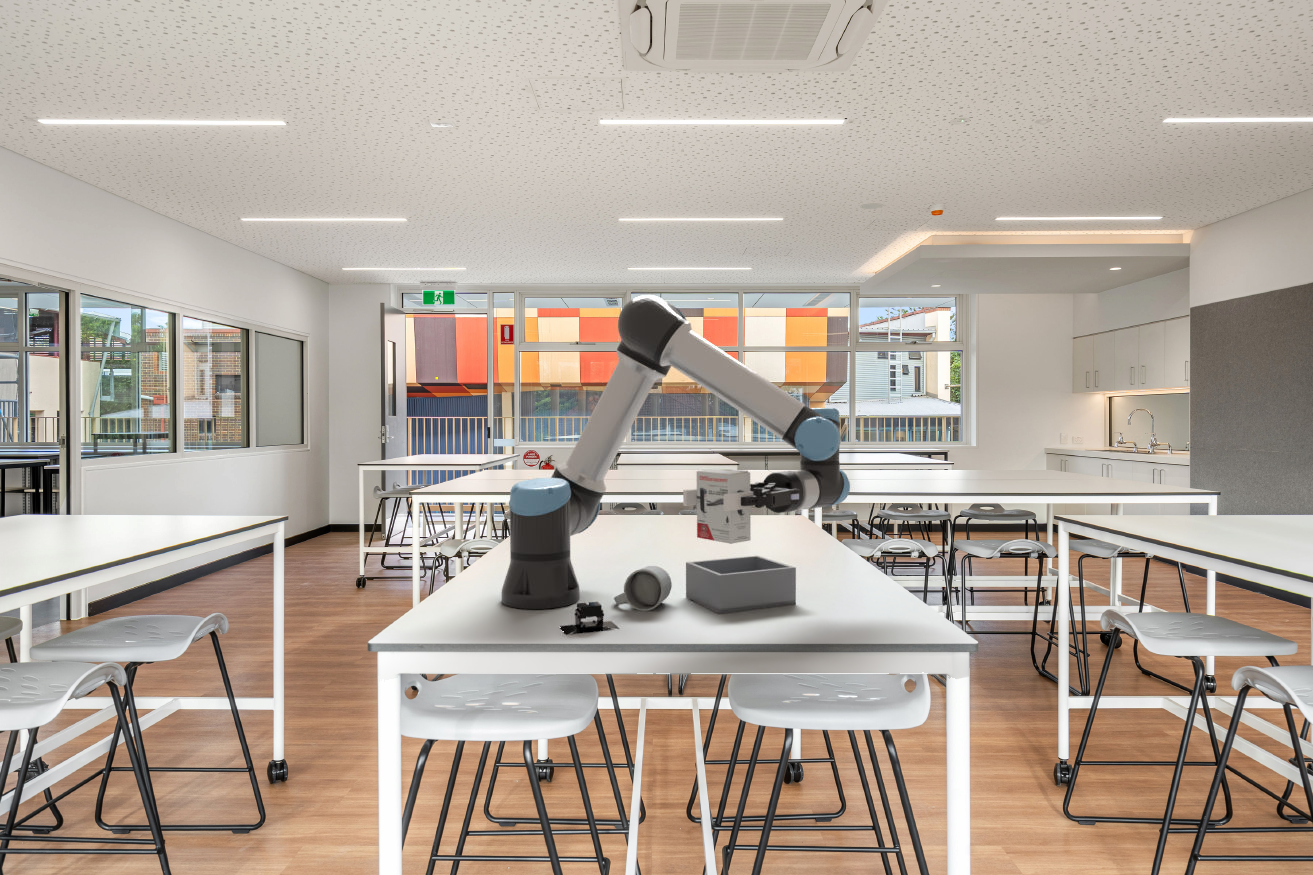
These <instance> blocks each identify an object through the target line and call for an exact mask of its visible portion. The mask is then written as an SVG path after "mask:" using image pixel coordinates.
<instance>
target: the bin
mask: <svg viewBox="0 0 1313 875" xmlns="http://www.w3.org/2000/svg"><path fill="white" fill-rule="evenodd" d="M796 573H797V567H795V566H792V565H789V564H785V563H783V562H779V561H777V560H773V559H769V558H766V557H763V556H760V555H750V556H739V557H727V558H718V559H715V558H714V559H709V560H708V559H706V560H697V561H695V560H694V561H685V598H687V599H689V600H690V599H691V601H692V600H693V602H695V603H697V604H699V605H701V606H703V607H705V608H707V609H709V610H711V611H713V612H715V613H717V614H719V615H721V614H729V613H738V612H744V611H745V612H746V611H753V610H761V609H769V608H775V607H776V608H777V607H784V606H792V605H796V603H797V601H796V600H797V574H796Z"/></svg>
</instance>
